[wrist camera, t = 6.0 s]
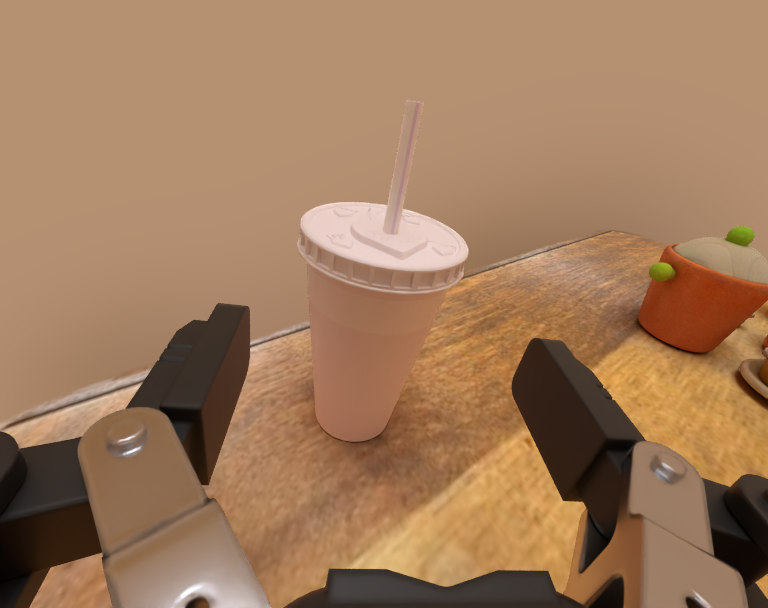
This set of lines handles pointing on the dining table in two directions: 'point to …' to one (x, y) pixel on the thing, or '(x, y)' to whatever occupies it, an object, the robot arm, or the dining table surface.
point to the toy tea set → (708, 296)
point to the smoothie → (373, 296)
